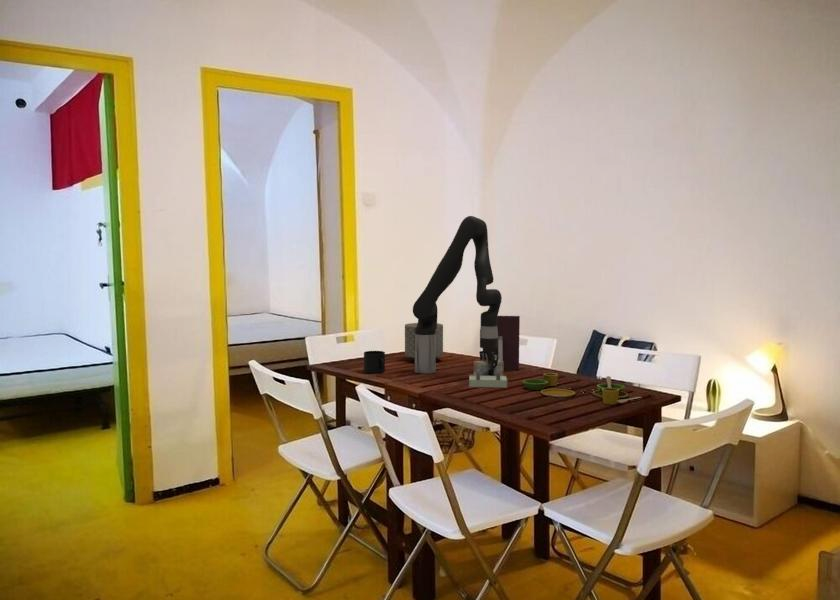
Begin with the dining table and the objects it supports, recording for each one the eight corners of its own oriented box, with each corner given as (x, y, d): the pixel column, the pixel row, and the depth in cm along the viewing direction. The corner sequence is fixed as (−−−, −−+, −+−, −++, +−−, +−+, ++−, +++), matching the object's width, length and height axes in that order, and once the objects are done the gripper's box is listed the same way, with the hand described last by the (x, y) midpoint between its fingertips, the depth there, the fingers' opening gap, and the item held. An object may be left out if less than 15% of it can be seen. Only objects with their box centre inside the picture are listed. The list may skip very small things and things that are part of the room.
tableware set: (646, 400, 233) (647, 383, 233) (594, 410, 218) (594, 392, 218) (564, 381, 268) (565, 366, 267) (514, 389, 253) (514, 373, 252)
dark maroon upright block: (518, 369, 293) (519, 315, 291) (520, 373, 283) (520, 317, 281) (482, 369, 294) (482, 315, 292) (482, 373, 285) (482, 317, 283)
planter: (450, 360, 318) (450, 324, 317) (424, 365, 304) (424, 327, 303) (423, 356, 331) (423, 321, 330) (396, 361, 317) (396, 324, 316)
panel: (477, 381, 265) (477, 362, 265) (473, 380, 269) (473, 361, 268) (503, 379, 269) (503, 361, 269) (499, 378, 273) (499, 359, 273)
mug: (374, 375, 279) (374, 355, 278) (359, 371, 288) (359, 351, 288) (392, 373, 285) (392, 353, 284) (377, 369, 294) (377, 350, 293)
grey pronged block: (469, 387, 254) (469, 369, 254) (469, 382, 263) (469, 365, 263) (507, 387, 253) (507, 370, 253) (505, 383, 262) (506, 366, 262)
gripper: (504, 338, 262) (504, 379, 264) (489, 334, 276) (489, 373, 277) (488, 339, 260) (488, 380, 261) (473, 335, 273) (473, 374, 274)
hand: (488, 376), depth 269 cm, fingers closed on panel, 4 cm apart
